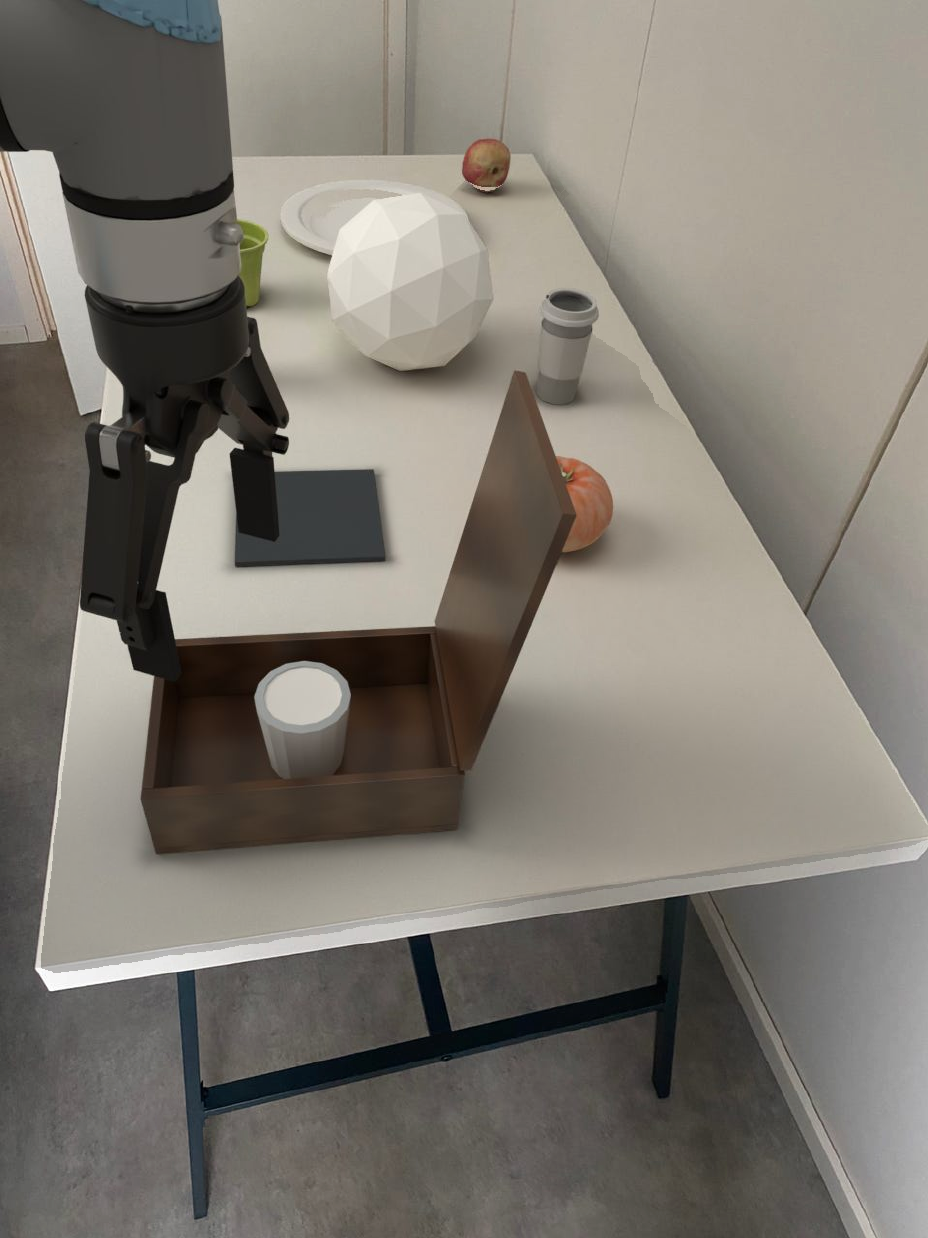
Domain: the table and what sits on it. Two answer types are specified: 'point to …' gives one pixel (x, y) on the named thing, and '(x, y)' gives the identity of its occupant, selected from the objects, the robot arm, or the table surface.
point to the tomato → (586, 502)
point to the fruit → (486, 163)
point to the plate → (341, 210)
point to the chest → (313, 806)
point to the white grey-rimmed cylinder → (304, 718)
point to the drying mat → (319, 521)
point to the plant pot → (251, 259)
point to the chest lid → (501, 566)
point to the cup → (564, 342)
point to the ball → (409, 282)
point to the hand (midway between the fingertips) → (212, 598)
